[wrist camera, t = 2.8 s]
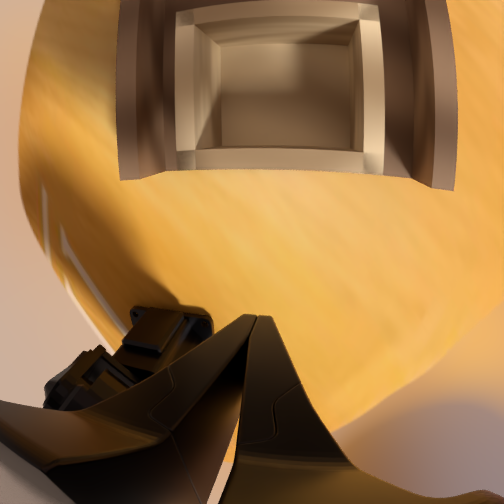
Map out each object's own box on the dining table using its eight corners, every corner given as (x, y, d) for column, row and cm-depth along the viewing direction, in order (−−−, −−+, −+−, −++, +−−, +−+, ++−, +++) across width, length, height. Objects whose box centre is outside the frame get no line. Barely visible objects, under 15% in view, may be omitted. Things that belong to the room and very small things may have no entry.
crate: (363, 164, 15) (382, 175, 10) (211, 160, 16) (177, 170, 12) (360, 37, 12) (377, 5, 8) (209, 39, 13) (176, 12, 9)
